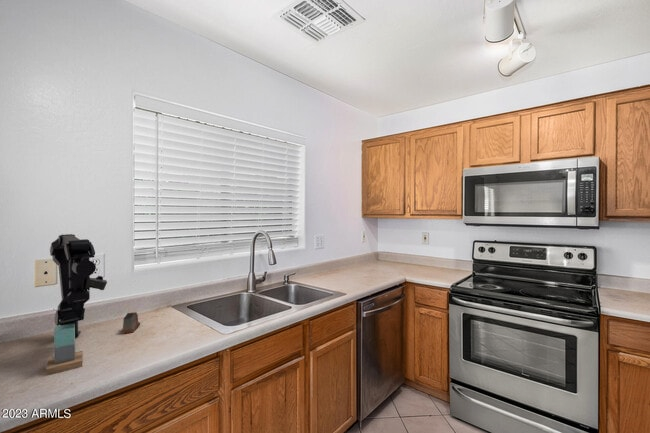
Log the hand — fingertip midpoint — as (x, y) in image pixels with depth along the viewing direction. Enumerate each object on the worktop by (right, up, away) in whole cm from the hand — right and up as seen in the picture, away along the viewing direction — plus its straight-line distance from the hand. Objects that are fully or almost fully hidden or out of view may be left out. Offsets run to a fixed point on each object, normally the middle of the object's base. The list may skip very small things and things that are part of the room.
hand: (79, 314), depth 115 cm
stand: (+5, -13, -12) cm, 18 cm away
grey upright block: (+7, -13, +19) cm, 24 cm away
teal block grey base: (+5, -11, -12) cm, 17 cm away
